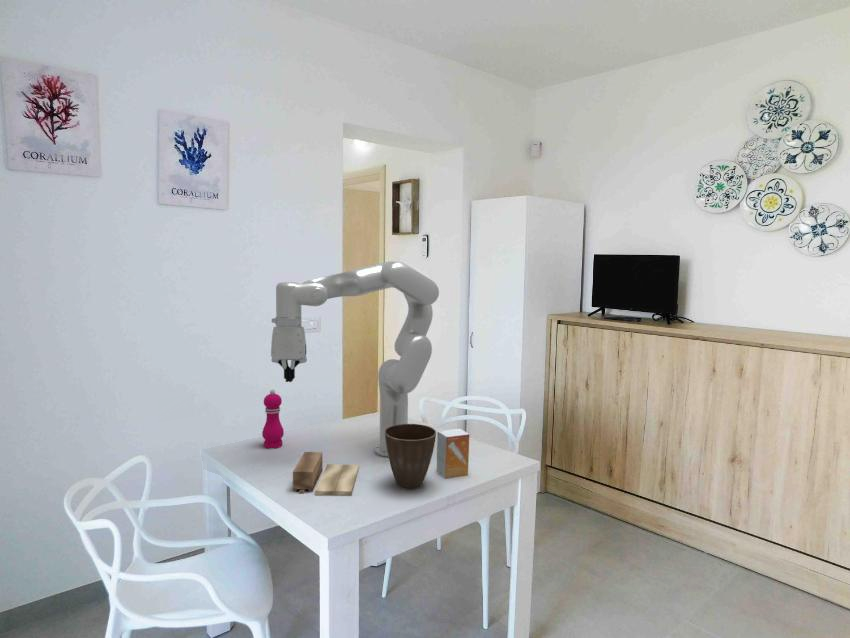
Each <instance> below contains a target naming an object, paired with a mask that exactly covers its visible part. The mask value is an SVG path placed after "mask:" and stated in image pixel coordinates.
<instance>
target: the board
mask: <svg viewBox="0 0 850 638" xmlns="http://www.w3.org/2000/svg"><path fill="white" fill-rule="evenodd" d="M359 470H360V464H335V463H334V464H330V463H329V464H326V466H325V468H324V471H323V472H322V475H321V476H320V477H321V478H319V482H318V484H317V485H316V489H315V491H314V492H315V494H314V495H315V496H347V497H348V496H352V495H353V491H354V488H355V484H356V481H357V477H358V473H359ZM306 490H307V489H299V493H298V494H305V492H306Z"/></svg>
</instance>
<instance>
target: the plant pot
mask: <svg viewBox="0 0 850 638" xmlns="http://www.w3.org/2000/svg"><path fill="white" fill-rule="evenodd" d="M436 437H437V431H436V429H435V428H433V427H432V426H429V425H425V424H418V423H408V424H399V425H394V426H391V427H389V428H387V429H386V430H385V438H386V446H387V452H388V461H389V464H390V465H389V466H390V468H391V471H392V475H393V478H394V481H395V483H396V485H397V487H399V488H400V489H403V490H415V489H419V488H421V487H422V485H423V483H424V481H425V478H426V476H427V473H428V470H429V467H430V465H431V461H432V457H433V454H434V450H435V449H434V448H435V443H436Z"/></svg>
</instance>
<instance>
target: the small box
mask: <svg viewBox="0 0 850 638" xmlns="http://www.w3.org/2000/svg"><path fill="white" fill-rule="evenodd" d="M436 437H437V439H436V473H438V474H439V475H441V477H442V478H444V479H449V478H455V476H456V477H462V475H463V476H468V475H469V461H470V460H469V456H470V454H469V453H470V433H468V432H466V431H465V430H464V429H461V428H455V429H445V430H437V431H436Z"/></svg>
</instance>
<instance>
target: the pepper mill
mask: <svg viewBox="0 0 850 638" xmlns="http://www.w3.org/2000/svg"><path fill="white" fill-rule="evenodd" d="M282 403H283V402H282V397H281V396H280V395H279V394H278V393H276V391H275V389H270V391H269V393H268V394H267V395H266V396H265V397H264V398H263V405H264V407H265V408H264V409H265V414H266V420H265V424H264V426H263V428H262V433H261V437H262V439H264V440H263V447H264V448H265V447H266V448H265V449H269V448H274V449H279V448H281V447H282V446H283V439H282V438H283V437H284V434H285V431H284V427H283V425H282V423H281V420H280V412H281V407H280V406H281V405H282Z"/></svg>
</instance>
